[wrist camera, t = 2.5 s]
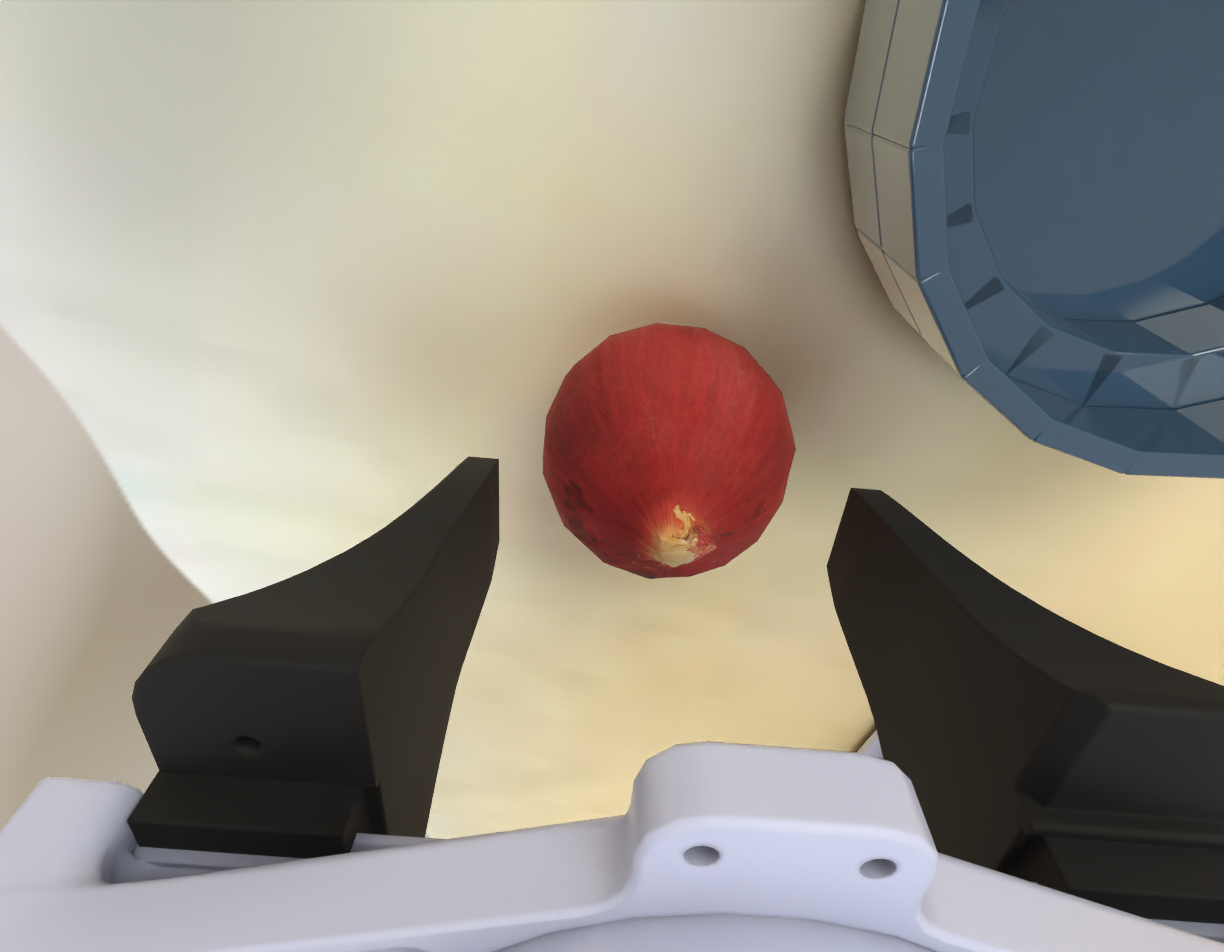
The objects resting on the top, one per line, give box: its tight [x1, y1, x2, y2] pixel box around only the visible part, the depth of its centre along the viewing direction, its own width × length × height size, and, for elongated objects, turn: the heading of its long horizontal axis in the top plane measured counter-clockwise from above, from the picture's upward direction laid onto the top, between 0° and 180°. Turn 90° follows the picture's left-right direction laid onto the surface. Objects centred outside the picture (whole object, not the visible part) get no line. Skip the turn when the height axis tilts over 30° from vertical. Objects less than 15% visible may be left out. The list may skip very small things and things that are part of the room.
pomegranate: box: [543, 323, 796, 579], centre depth 16 cm, size 6×6×8 cm
